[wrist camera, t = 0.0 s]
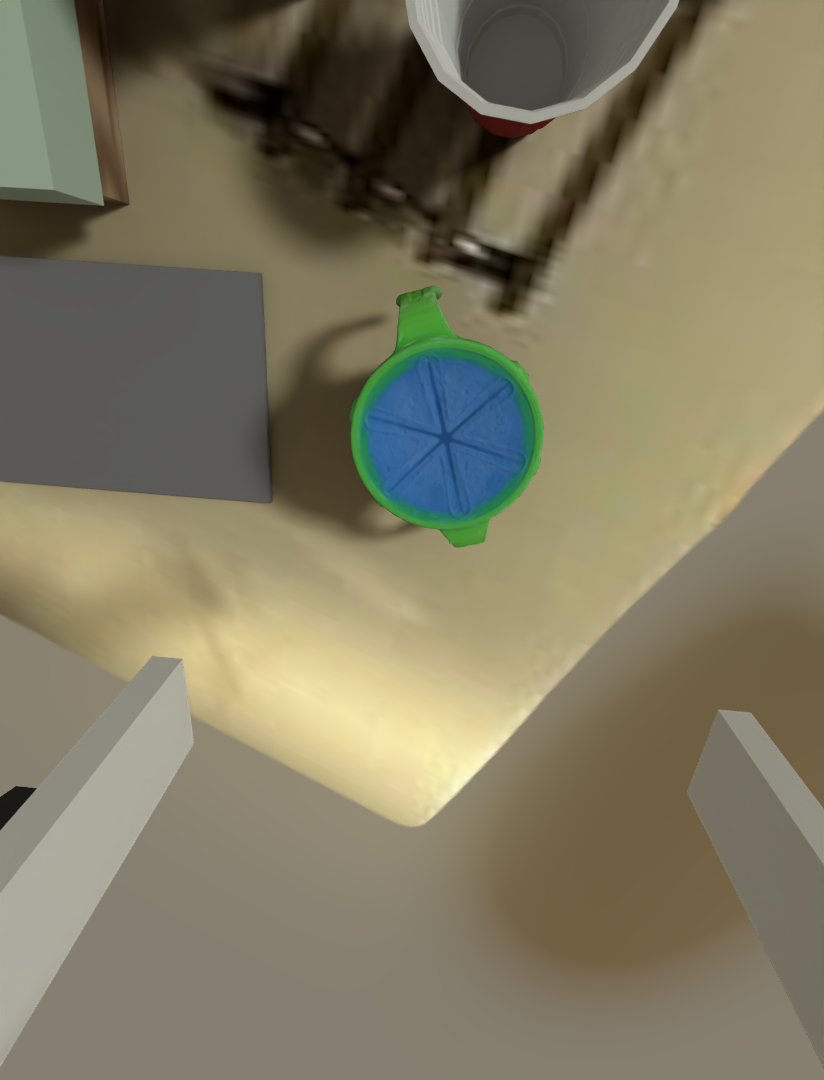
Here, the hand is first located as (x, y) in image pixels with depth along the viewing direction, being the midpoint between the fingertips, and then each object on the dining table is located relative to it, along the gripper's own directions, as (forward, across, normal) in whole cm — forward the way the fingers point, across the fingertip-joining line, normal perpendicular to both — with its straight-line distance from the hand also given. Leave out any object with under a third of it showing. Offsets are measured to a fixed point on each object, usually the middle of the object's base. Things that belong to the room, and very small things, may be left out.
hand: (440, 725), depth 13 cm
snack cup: (+28, 0, +3) cm, 28 cm away
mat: (+28, -24, +3) cm, 37 cm away
